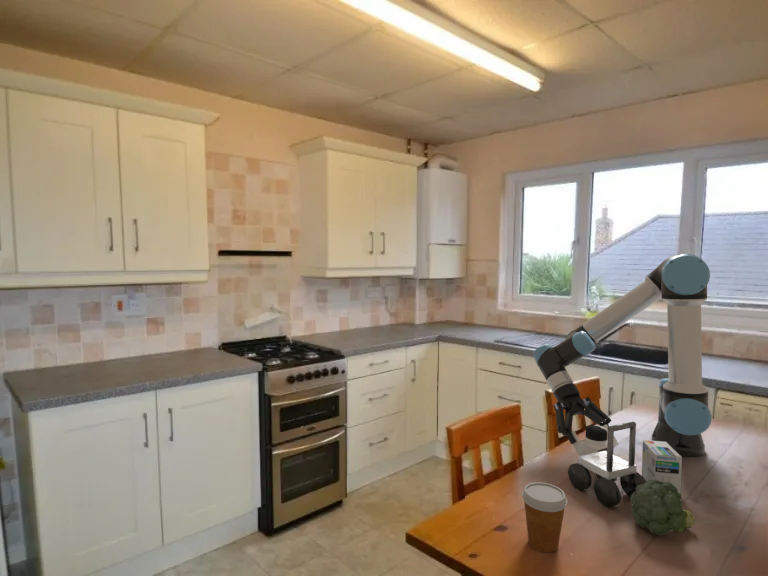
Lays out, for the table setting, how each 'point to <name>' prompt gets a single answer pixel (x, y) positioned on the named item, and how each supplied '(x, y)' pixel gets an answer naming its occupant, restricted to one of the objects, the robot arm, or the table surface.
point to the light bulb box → (661, 463)
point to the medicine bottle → (594, 440)
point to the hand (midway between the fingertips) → (598, 449)
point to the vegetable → (660, 508)
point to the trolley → (608, 470)
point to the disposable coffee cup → (544, 515)
